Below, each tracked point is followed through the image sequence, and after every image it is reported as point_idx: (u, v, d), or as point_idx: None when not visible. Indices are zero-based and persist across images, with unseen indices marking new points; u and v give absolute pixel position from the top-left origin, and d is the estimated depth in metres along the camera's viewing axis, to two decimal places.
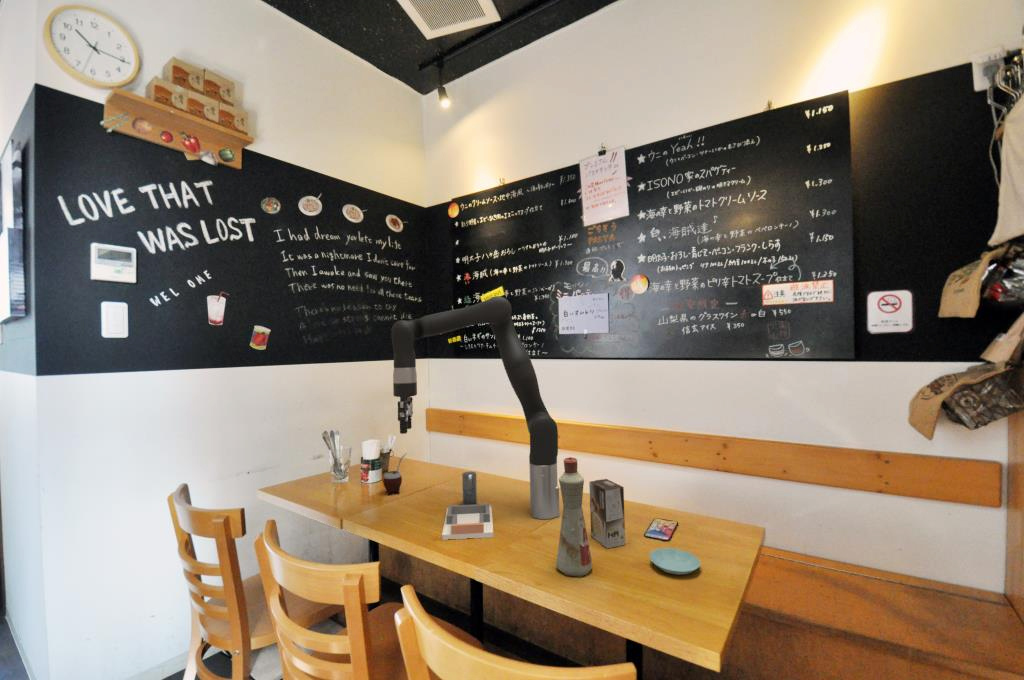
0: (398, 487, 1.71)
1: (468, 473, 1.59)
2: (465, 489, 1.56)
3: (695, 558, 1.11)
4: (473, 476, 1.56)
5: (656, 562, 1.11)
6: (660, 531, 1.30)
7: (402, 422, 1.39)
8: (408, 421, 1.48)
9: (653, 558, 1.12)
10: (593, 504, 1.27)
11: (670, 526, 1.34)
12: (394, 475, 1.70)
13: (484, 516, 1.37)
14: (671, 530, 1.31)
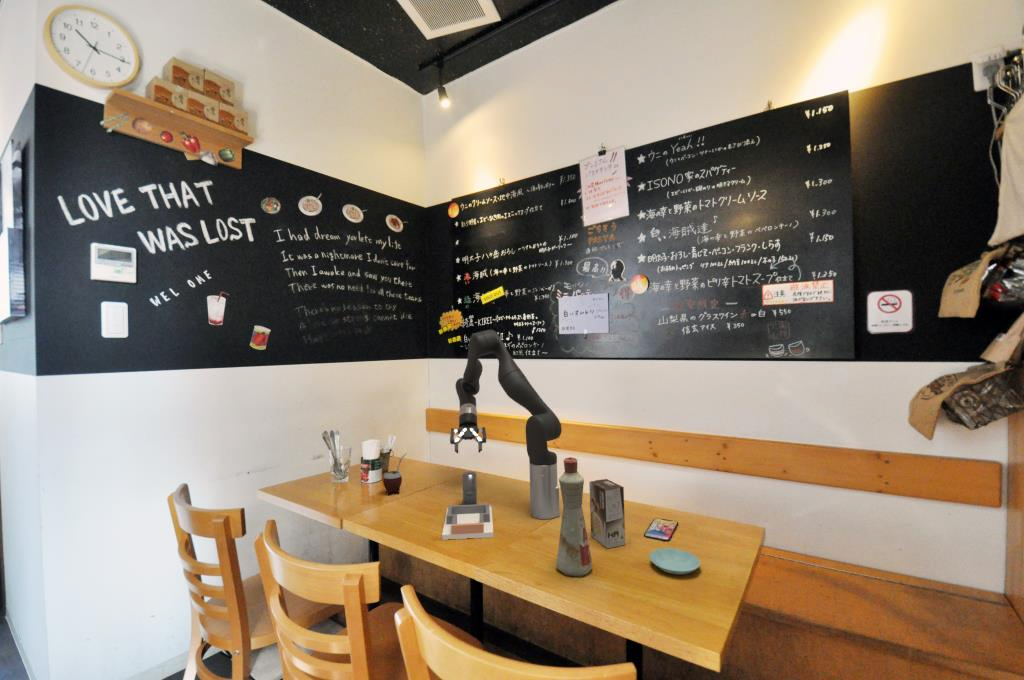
0: (398, 487, 1.71)
1: (468, 473, 1.59)
2: (465, 489, 1.56)
3: (695, 558, 1.11)
4: (473, 476, 1.56)
5: (656, 562, 1.11)
6: (660, 531, 1.30)
7: (454, 444, 1.73)
8: (478, 445, 1.73)
9: (653, 558, 1.12)
10: (593, 504, 1.27)
11: (670, 526, 1.34)
12: (394, 475, 1.70)
13: (484, 516, 1.37)
14: (671, 530, 1.31)
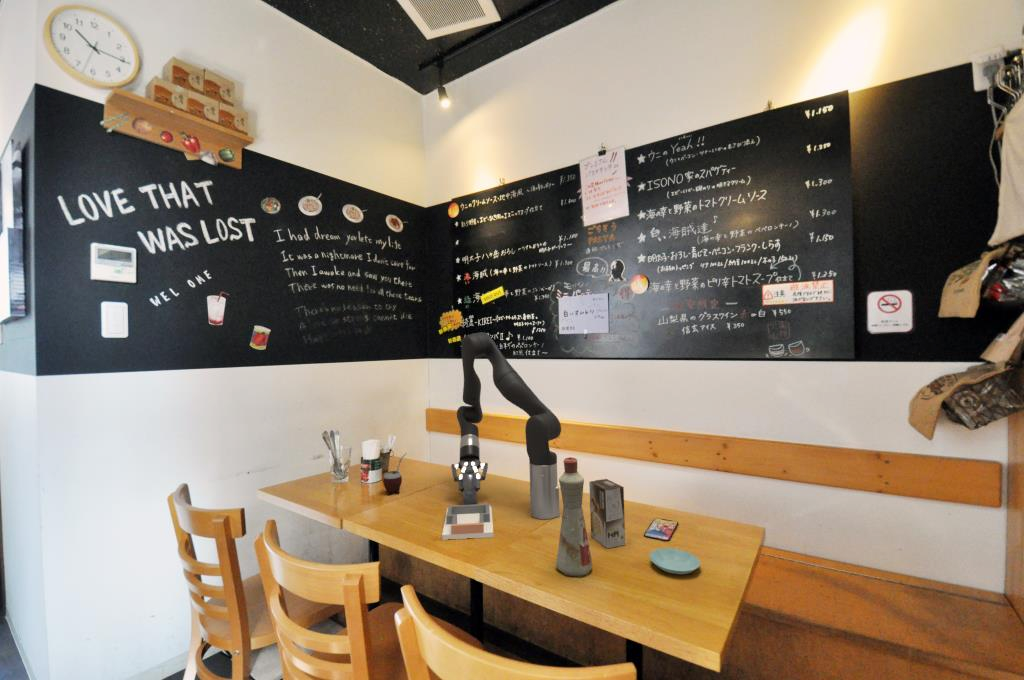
0: (398, 487, 1.71)
1: (467, 473, 1.59)
2: (465, 489, 1.56)
3: (694, 558, 1.11)
4: (473, 476, 1.56)
5: (656, 562, 1.11)
6: (660, 531, 1.30)
7: None
8: (476, 483, 1.59)
9: (653, 558, 1.12)
10: (593, 504, 1.27)
11: (670, 526, 1.34)
12: (394, 475, 1.70)
13: (484, 516, 1.37)
14: (671, 530, 1.31)
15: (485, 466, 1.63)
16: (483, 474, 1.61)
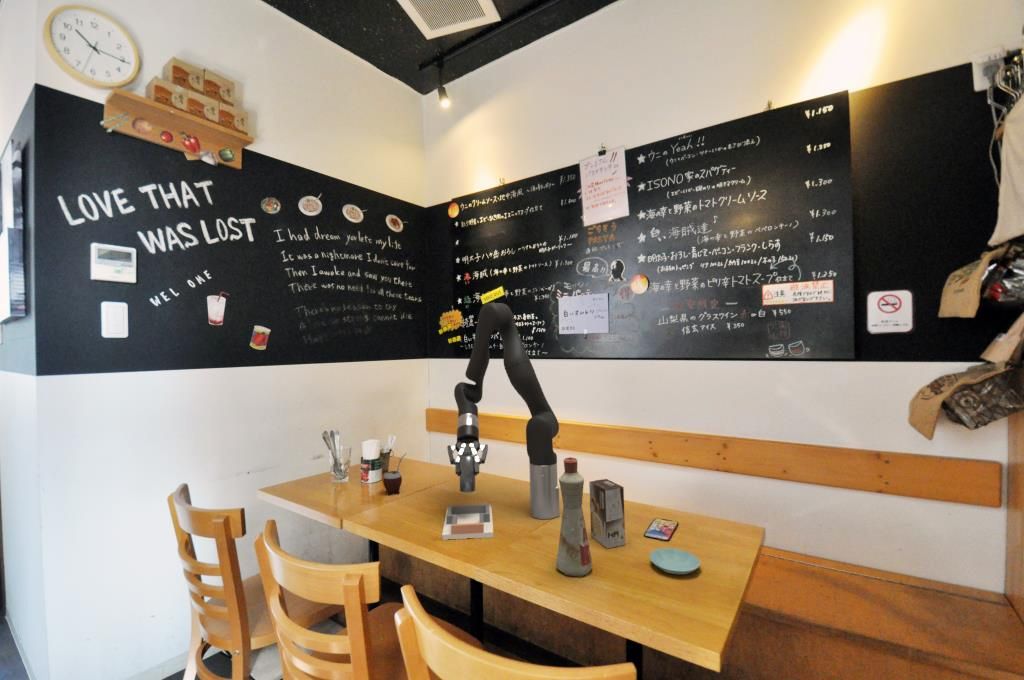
0: (398, 487, 1.71)
1: (465, 455, 1.42)
2: (462, 473, 1.40)
3: (694, 557, 1.11)
4: (471, 458, 1.40)
5: (656, 563, 1.11)
6: (660, 531, 1.30)
7: (455, 465, 1.43)
8: (475, 467, 1.43)
9: (653, 559, 1.12)
10: (593, 504, 1.27)
11: (670, 526, 1.34)
12: (394, 475, 1.70)
13: (484, 516, 1.37)
14: (671, 530, 1.31)
15: (485, 448, 1.47)
16: (483, 457, 1.45)
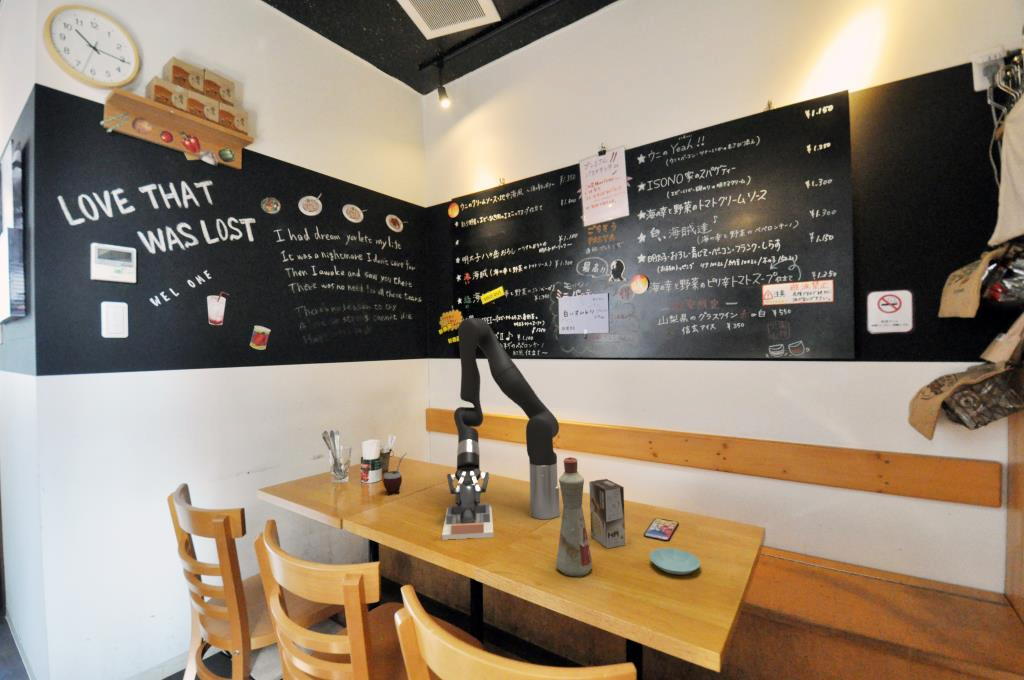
0: (398, 487, 1.71)
1: (466, 484, 1.38)
2: (463, 503, 1.36)
3: (694, 557, 1.11)
4: (472, 488, 1.36)
5: (656, 563, 1.11)
6: (660, 531, 1.30)
7: (455, 494, 1.39)
8: None
9: (653, 559, 1.12)
10: (593, 504, 1.27)
11: (670, 526, 1.34)
12: (394, 475, 1.70)
13: (484, 516, 1.37)
14: (671, 530, 1.31)
15: (486, 476, 1.43)
16: (483, 485, 1.40)
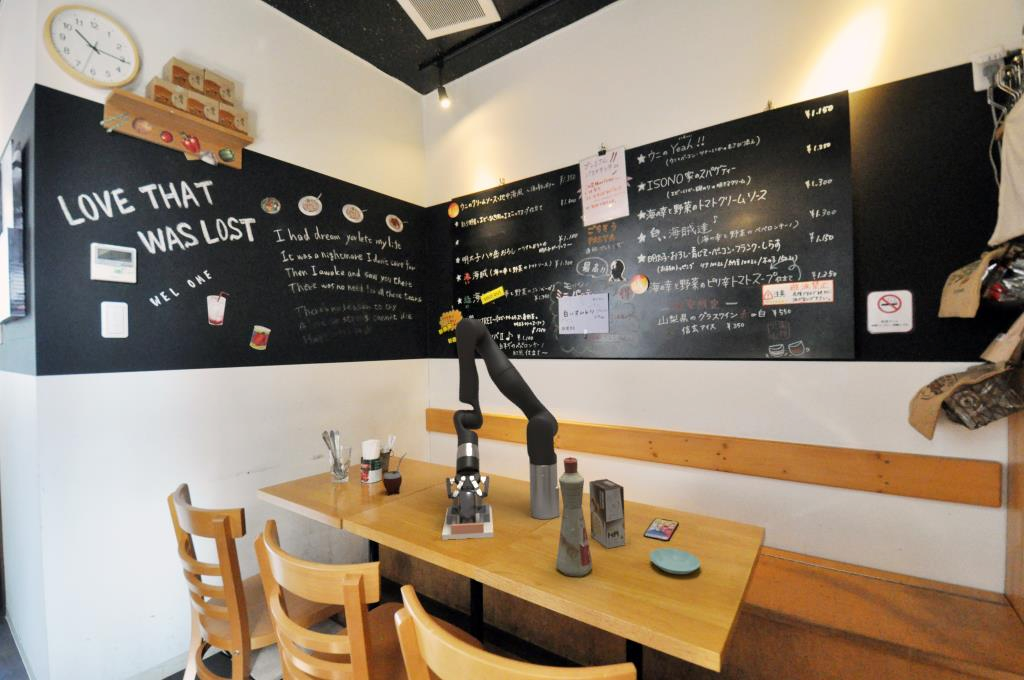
0: (398, 487, 1.71)
1: (465, 490, 1.34)
2: (462, 510, 1.32)
3: (694, 557, 1.11)
4: (471, 494, 1.32)
5: (656, 563, 1.11)
6: (660, 531, 1.30)
7: (453, 499, 1.35)
8: (477, 501, 1.35)
9: (653, 559, 1.12)
10: (593, 504, 1.27)
11: (670, 526, 1.34)
12: (394, 475, 1.70)
13: (484, 516, 1.37)
14: (671, 530, 1.31)
15: (486, 480, 1.39)
16: (485, 490, 1.37)
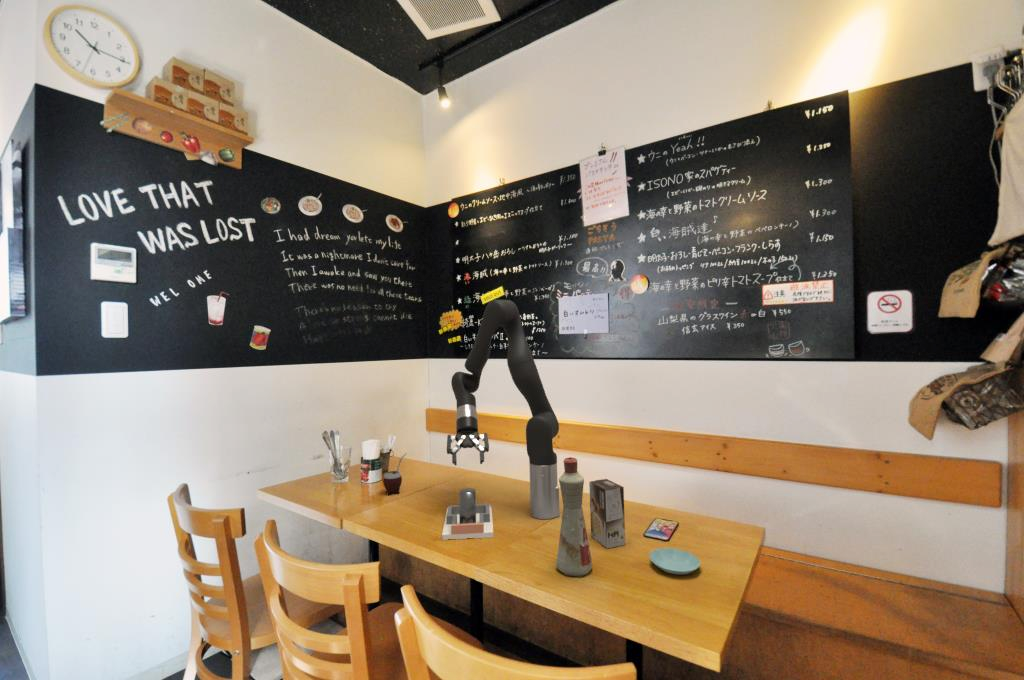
0: (398, 487, 1.71)
1: (465, 490, 1.34)
2: (462, 510, 1.32)
3: (693, 557, 1.12)
4: (472, 495, 1.32)
5: (656, 563, 1.11)
6: (660, 531, 1.30)
7: (452, 454, 1.48)
8: None
9: (653, 559, 1.12)
10: (593, 504, 1.27)
11: (670, 526, 1.33)
12: (394, 475, 1.70)
13: (484, 516, 1.37)
14: (671, 530, 1.31)
15: (485, 436, 1.52)
16: (487, 445, 1.50)
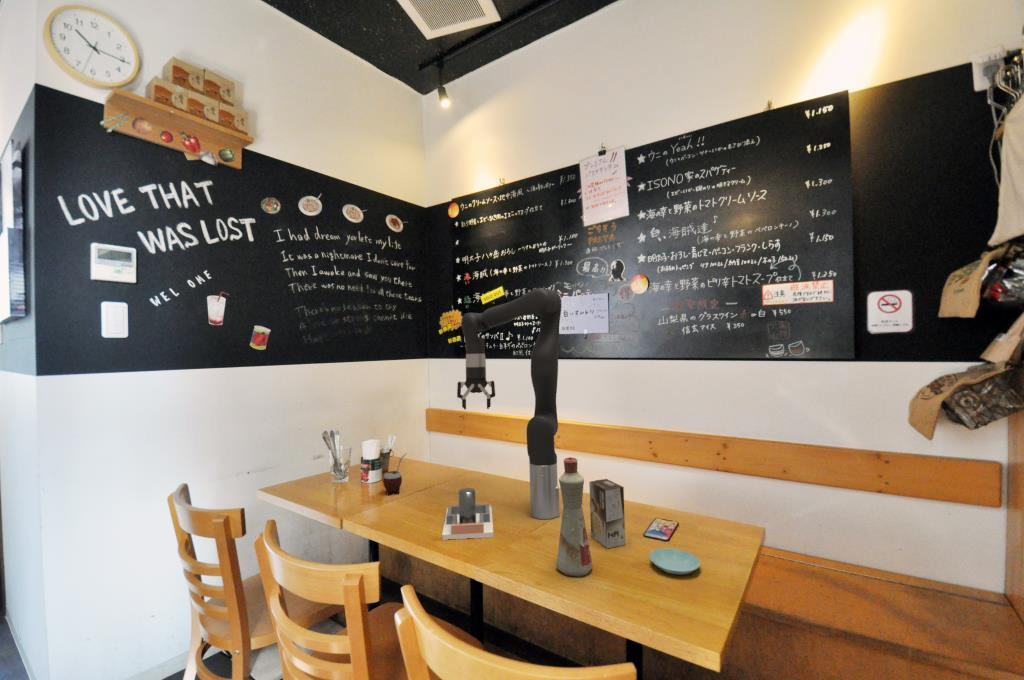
0: (398, 487, 1.71)
1: (465, 490, 1.34)
2: (462, 509, 1.32)
3: (693, 556, 1.12)
4: (471, 494, 1.32)
5: (656, 563, 1.11)
6: (660, 531, 1.30)
7: (462, 399, 1.66)
8: None
9: (653, 559, 1.12)
10: (593, 504, 1.27)
11: (670, 526, 1.33)
12: (394, 475, 1.70)
13: (484, 516, 1.37)
14: (671, 530, 1.31)
15: (492, 385, 1.66)
16: (493, 394, 1.65)
